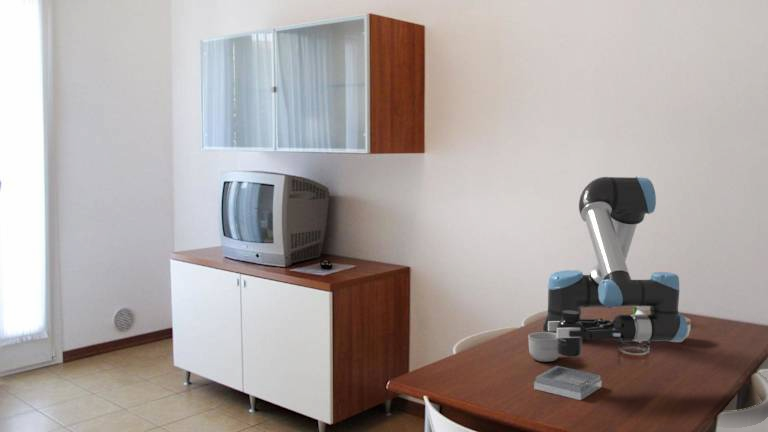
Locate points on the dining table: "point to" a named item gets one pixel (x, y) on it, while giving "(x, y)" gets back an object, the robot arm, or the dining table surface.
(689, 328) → the lidded jar
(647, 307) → the kitten
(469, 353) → the dining table surface
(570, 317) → the supplement bottle
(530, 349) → the teacup
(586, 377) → the shadow box frame
